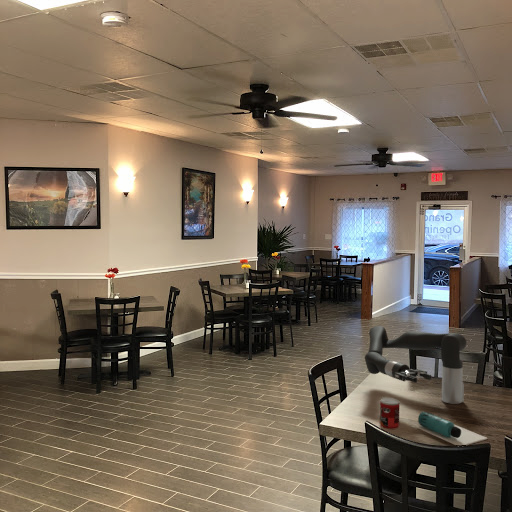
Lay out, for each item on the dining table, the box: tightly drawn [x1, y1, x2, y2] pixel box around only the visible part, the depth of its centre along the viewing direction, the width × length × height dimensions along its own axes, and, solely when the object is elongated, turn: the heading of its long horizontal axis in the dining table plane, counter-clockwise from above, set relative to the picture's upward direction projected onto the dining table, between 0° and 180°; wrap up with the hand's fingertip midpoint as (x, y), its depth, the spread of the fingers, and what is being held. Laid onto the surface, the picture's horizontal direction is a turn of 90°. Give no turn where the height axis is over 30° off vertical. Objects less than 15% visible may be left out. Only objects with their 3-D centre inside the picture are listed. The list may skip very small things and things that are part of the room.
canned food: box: [379, 397, 401, 430], centre depth 227 cm, size 8×8×11 cm
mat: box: [416, 424, 488, 446], centre depth 219 cm, size 22×16×1 cm
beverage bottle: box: [417, 411, 461, 438], centre depth 218 cm, size 6×7×20 cm
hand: (423, 379), depth 230 cm, fingers open, 8 cm apart
